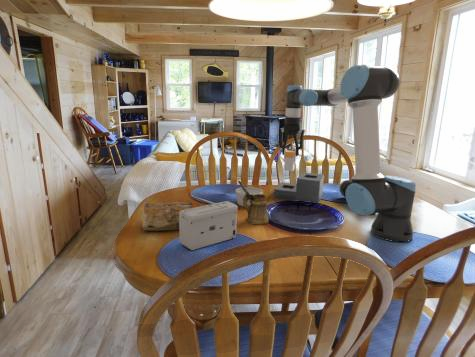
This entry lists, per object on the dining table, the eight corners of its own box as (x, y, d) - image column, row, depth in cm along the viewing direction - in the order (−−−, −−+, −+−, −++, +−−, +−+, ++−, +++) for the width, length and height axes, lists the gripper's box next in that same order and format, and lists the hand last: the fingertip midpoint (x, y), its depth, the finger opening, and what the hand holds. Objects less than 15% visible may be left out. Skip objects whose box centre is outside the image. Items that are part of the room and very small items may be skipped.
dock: (318, 204, 166) (320, 181, 163) (273, 198, 173) (274, 176, 170) (322, 195, 180) (324, 174, 177) (280, 190, 188) (282, 170, 185)
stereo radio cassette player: (226, 231, 130) (227, 182, 125) (239, 238, 124) (240, 187, 119) (178, 244, 118) (177, 190, 113) (189, 253, 111) (189, 196, 106)
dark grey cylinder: (365, 216, 151) (367, 194, 149) (336, 197, 178) (338, 179, 175) (383, 215, 153) (386, 193, 150) (353, 197, 180) (355, 178, 177)
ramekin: (260, 200, 171) (260, 187, 169) (263, 208, 158) (264, 194, 156) (234, 199, 170) (235, 186, 168) (236, 208, 157) (236, 194, 155)
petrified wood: (191, 218, 142) (192, 198, 137) (193, 236, 130) (194, 215, 126) (144, 219, 138) (143, 198, 133) (142, 238, 126) (141, 216, 122)
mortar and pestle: (236, 217, 146) (237, 177, 141) (266, 217, 146) (268, 177, 142) (237, 224, 137) (238, 182, 133) (269, 224, 138) (271, 183, 133)
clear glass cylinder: (292, 171, 173) (293, 152, 170) (284, 170, 174) (285, 151, 172) (294, 169, 177) (295, 151, 174) (286, 168, 178) (287, 150, 176)
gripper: (311, 117, 169) (307, 161, 175) (277, 115, 175) (275, 158, 181) (308, 117, 162) (305, 164, 168) (274, 116, 168) (271, 161, 174)
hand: (289, 161), depth 174 cm, fingers closed on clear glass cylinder, 4 cm apart
